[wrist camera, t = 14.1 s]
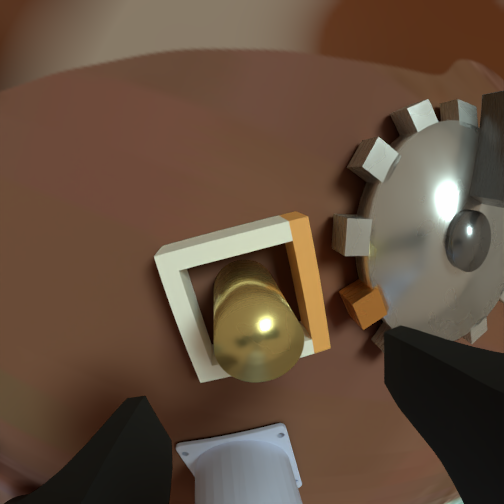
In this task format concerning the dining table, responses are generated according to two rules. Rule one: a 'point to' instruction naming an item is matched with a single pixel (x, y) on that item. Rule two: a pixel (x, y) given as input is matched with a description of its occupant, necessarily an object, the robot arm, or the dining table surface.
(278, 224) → the square open frame
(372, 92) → the dining table surface
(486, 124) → the sprocket
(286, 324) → the brass pin
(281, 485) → the robot arm
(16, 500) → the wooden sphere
